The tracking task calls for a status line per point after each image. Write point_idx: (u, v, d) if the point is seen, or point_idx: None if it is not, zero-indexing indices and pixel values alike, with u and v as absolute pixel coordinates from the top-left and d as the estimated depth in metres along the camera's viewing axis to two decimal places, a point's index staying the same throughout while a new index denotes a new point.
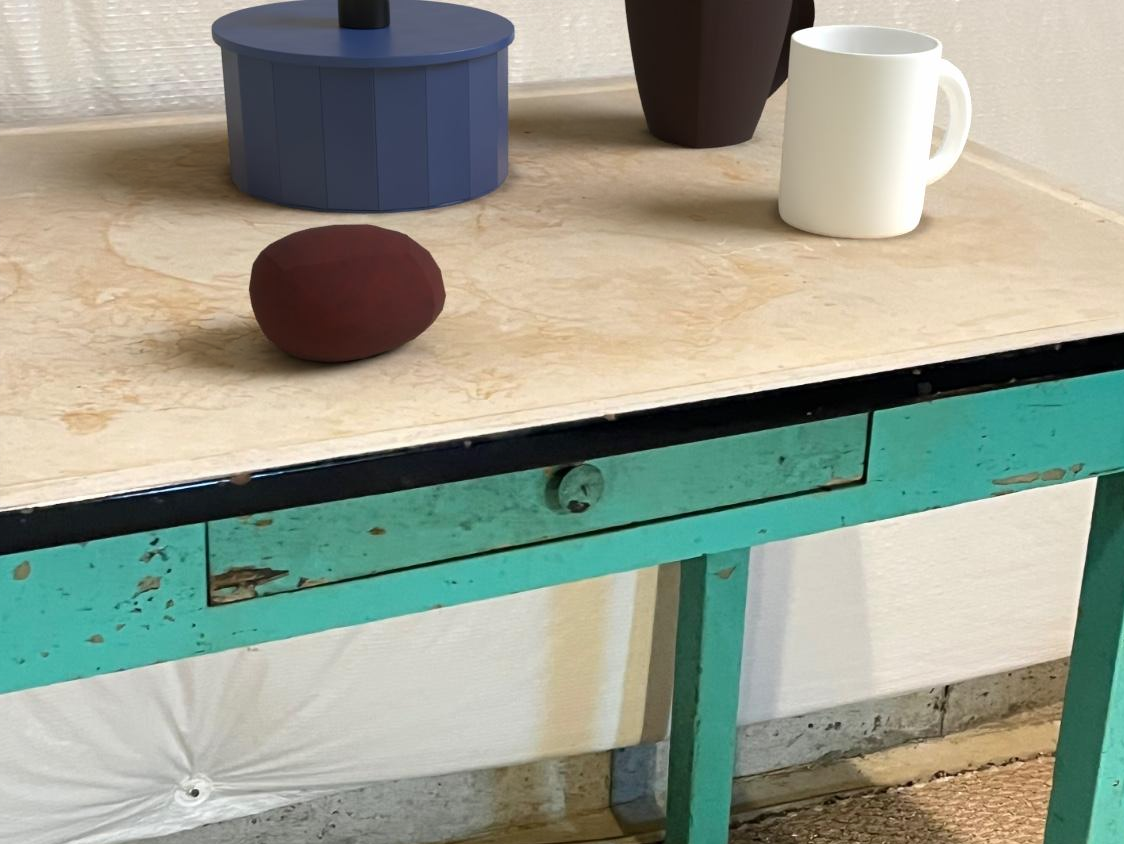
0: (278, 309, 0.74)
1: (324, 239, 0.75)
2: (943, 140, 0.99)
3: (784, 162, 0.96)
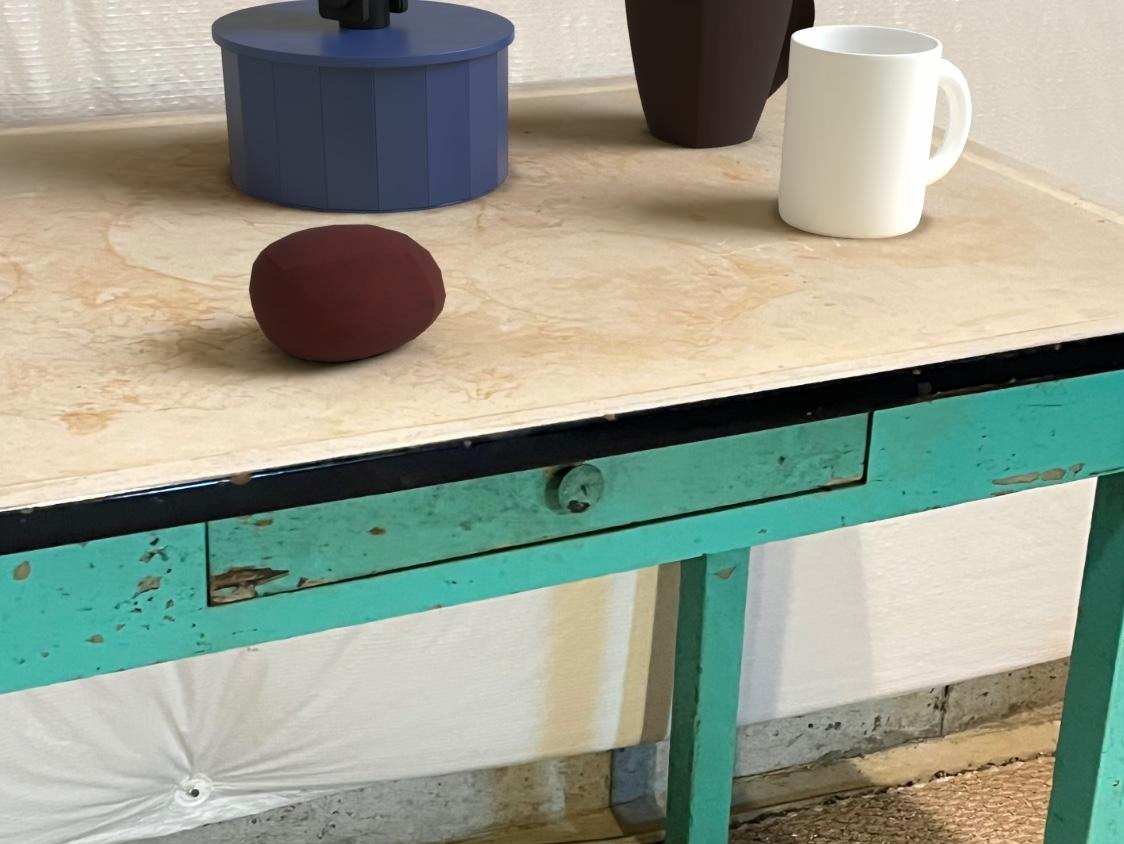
0: (278, 308, 0.74)
1: (324, 239, 0.75)
2: (943, 140, 0.99)
3: (784, 162, 0.96)
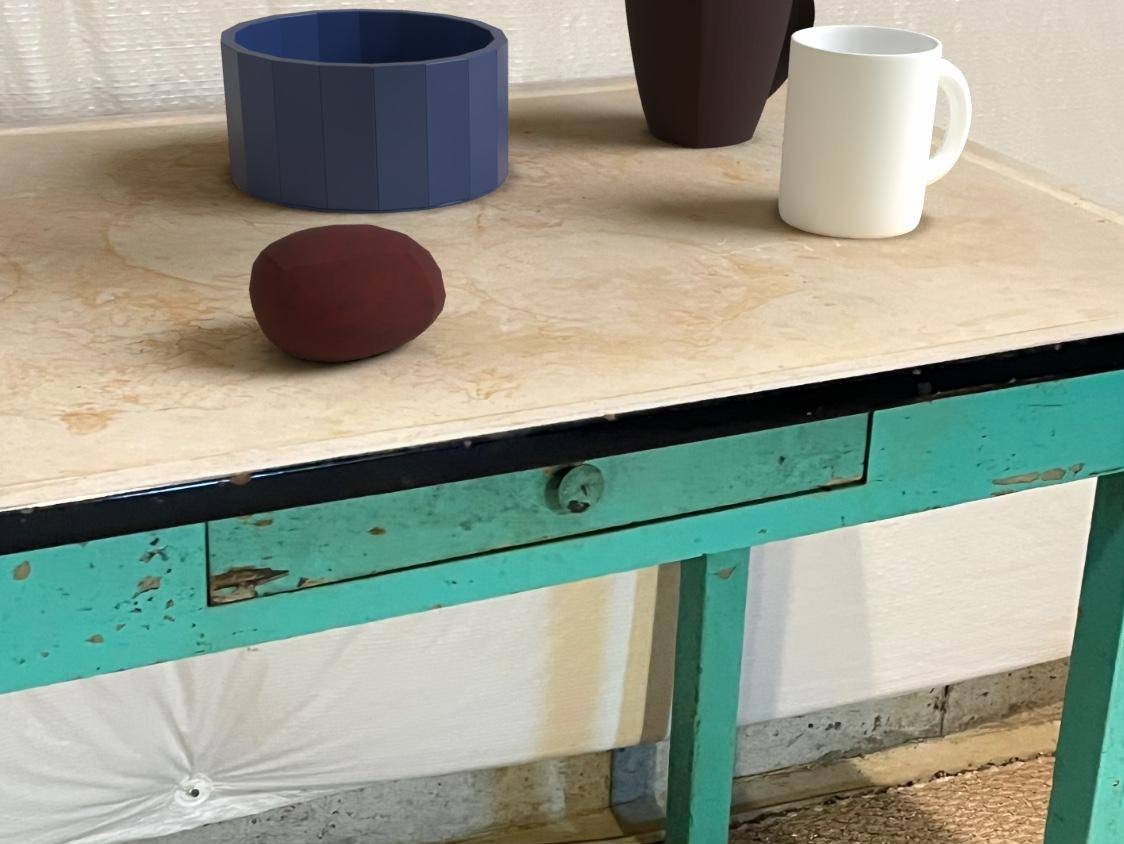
0: (278, 308, 0.74)
1: (324, 239, 0.75)
2: (943, 140, 0.99)
3: (784, 162, 0.96)
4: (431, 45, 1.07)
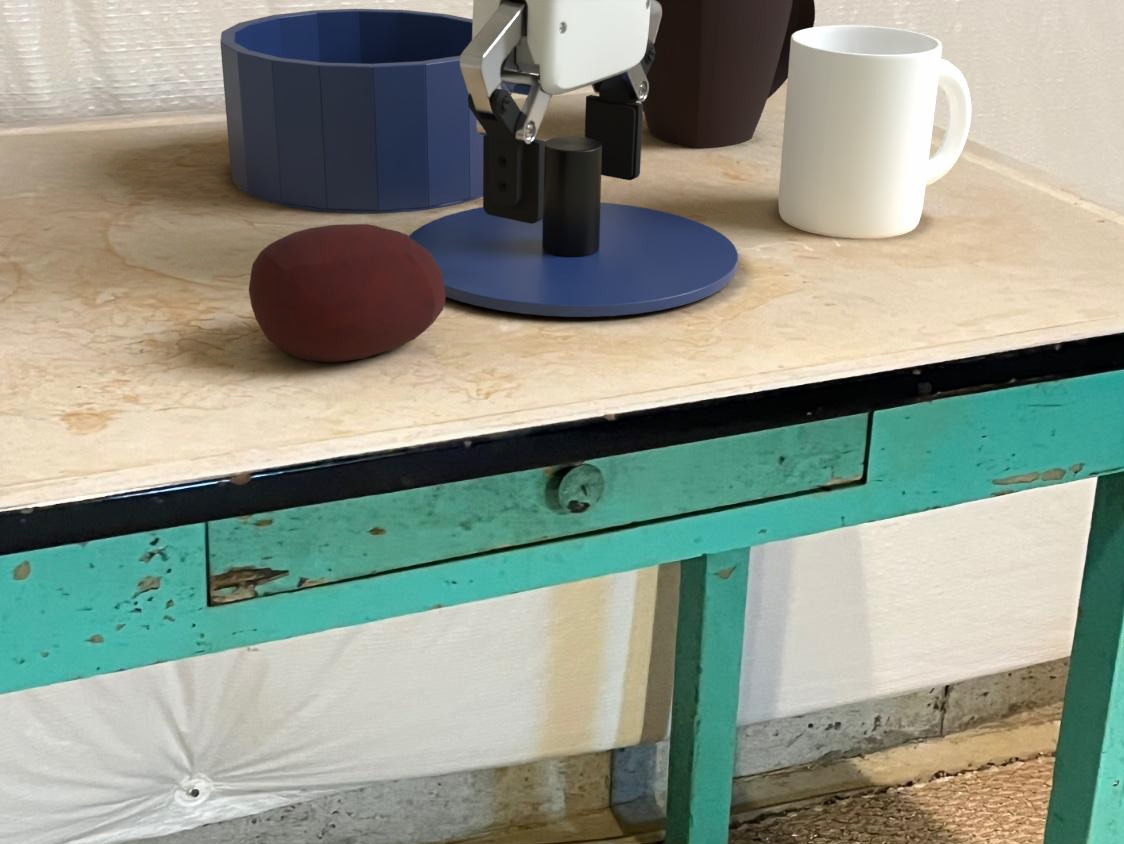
0: (278, 309, 0.74)
1: (324, 239, 0.75)
2: (943, 140, 0.99)
3: (784, 162, 0.96)
4: (431, 45, 1.07)
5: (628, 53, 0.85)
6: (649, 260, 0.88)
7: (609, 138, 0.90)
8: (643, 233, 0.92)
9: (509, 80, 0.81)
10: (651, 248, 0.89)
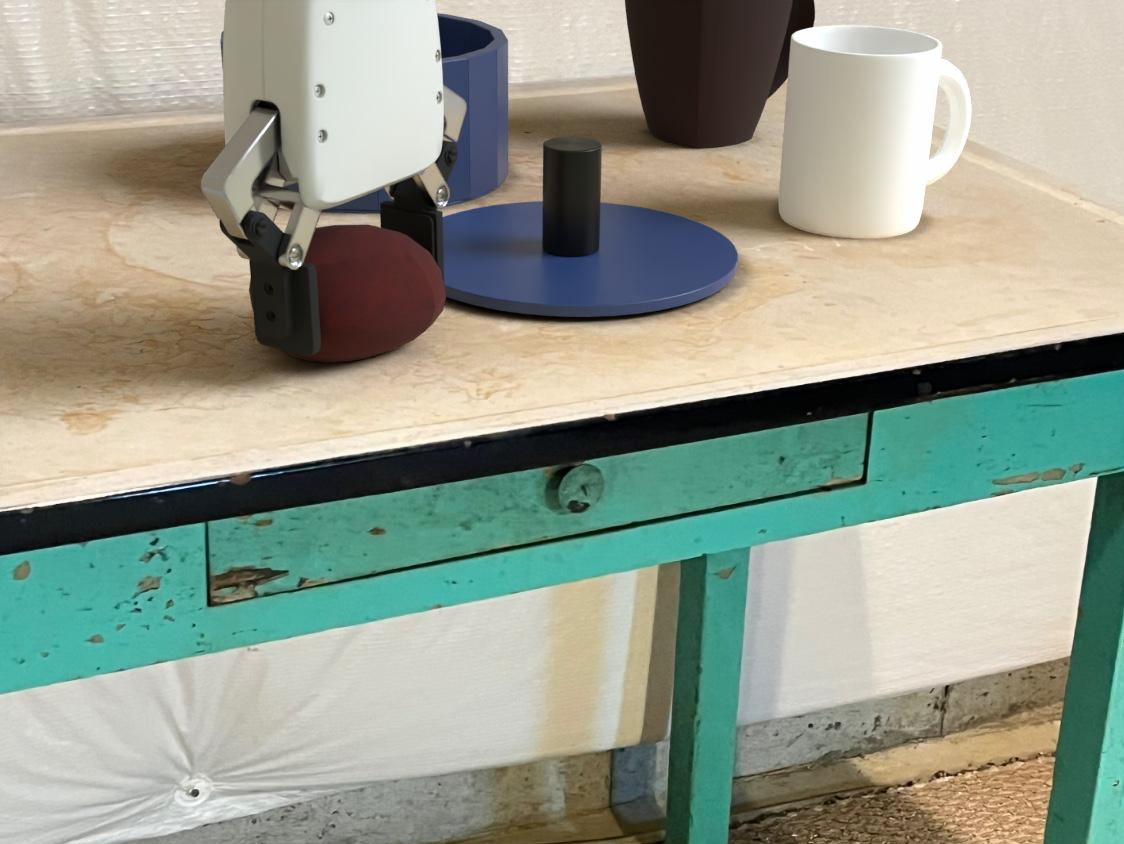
0: None
1: (324, 240, 0.75)
2: (943, 140, 0.99)
3: (784, 162, 0.96)
4: None
5: (417, 154, 0.75)
6: (649, 260, 0.88)
7: None
8: (643, 233, 0.92)
9: (271, 196, 0.71)
10: (651, 248, 0.89)
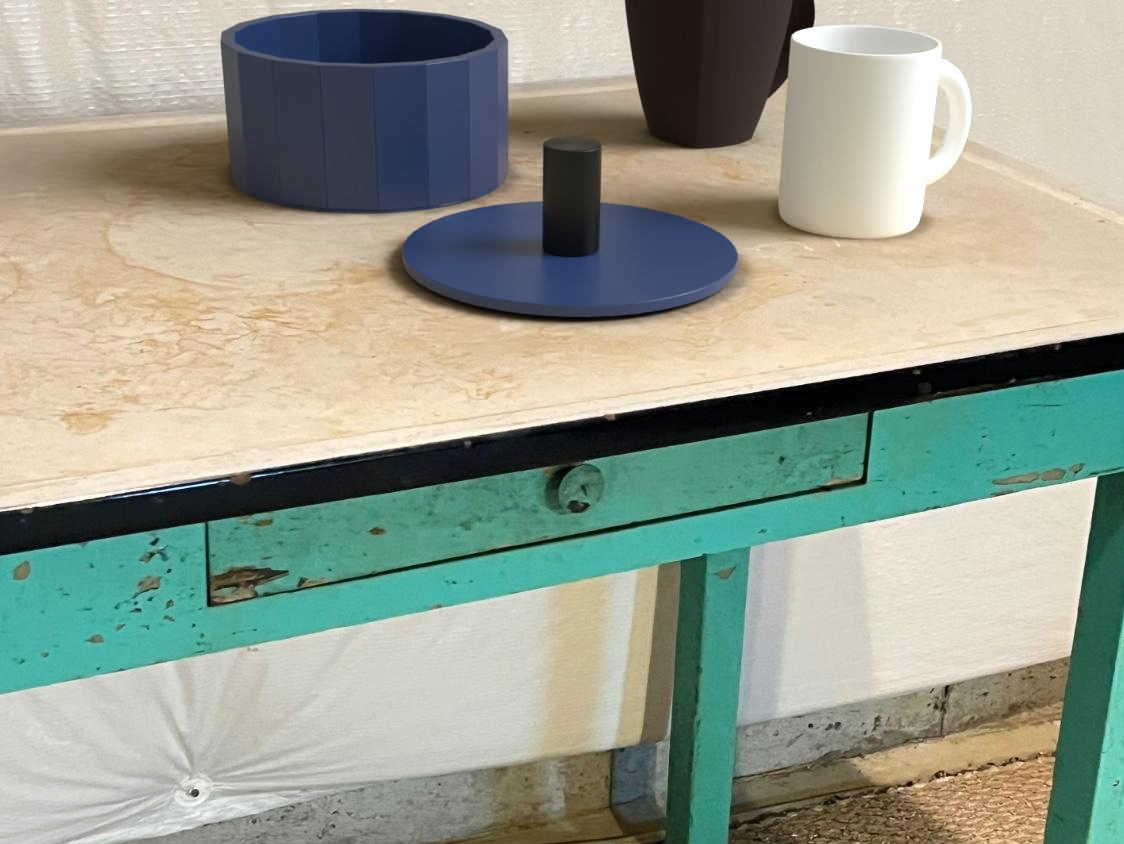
0: None
1: None
2: (943, 140, 0.99)
3: (784, 162, 0.96)
4: (431, 45, 1.07)
5: None
6: (649, 260, 0.88)
7: None
8: (643, 233, 0.92)
9: None
10: (651, 248, 0.89)
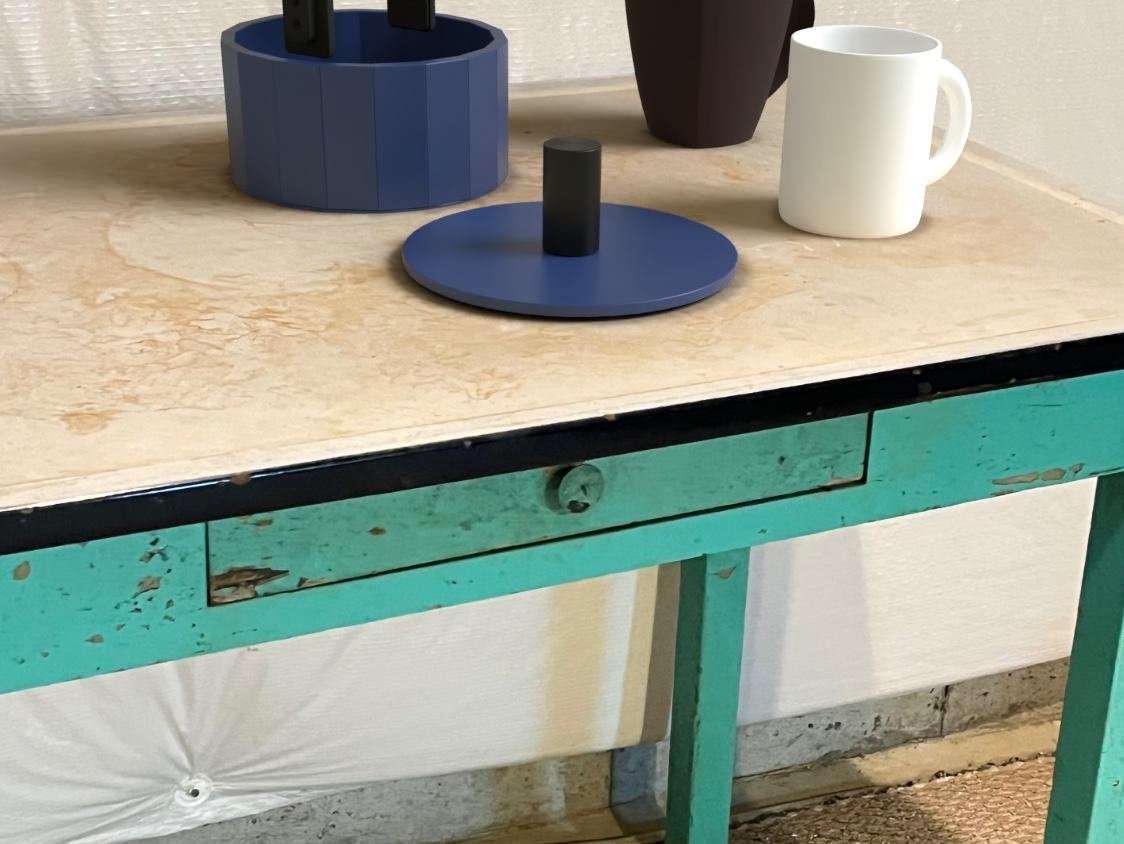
0: None
1: None
2: (943, 140, 0.99)
3: (784, 162, 0.96)
4: (431, 45, 1.07)
5: None
6: (649, 260, 0.88)
7: None
8: (643, 233, 0.92)
9: None
10: (651, 248, 0.89)
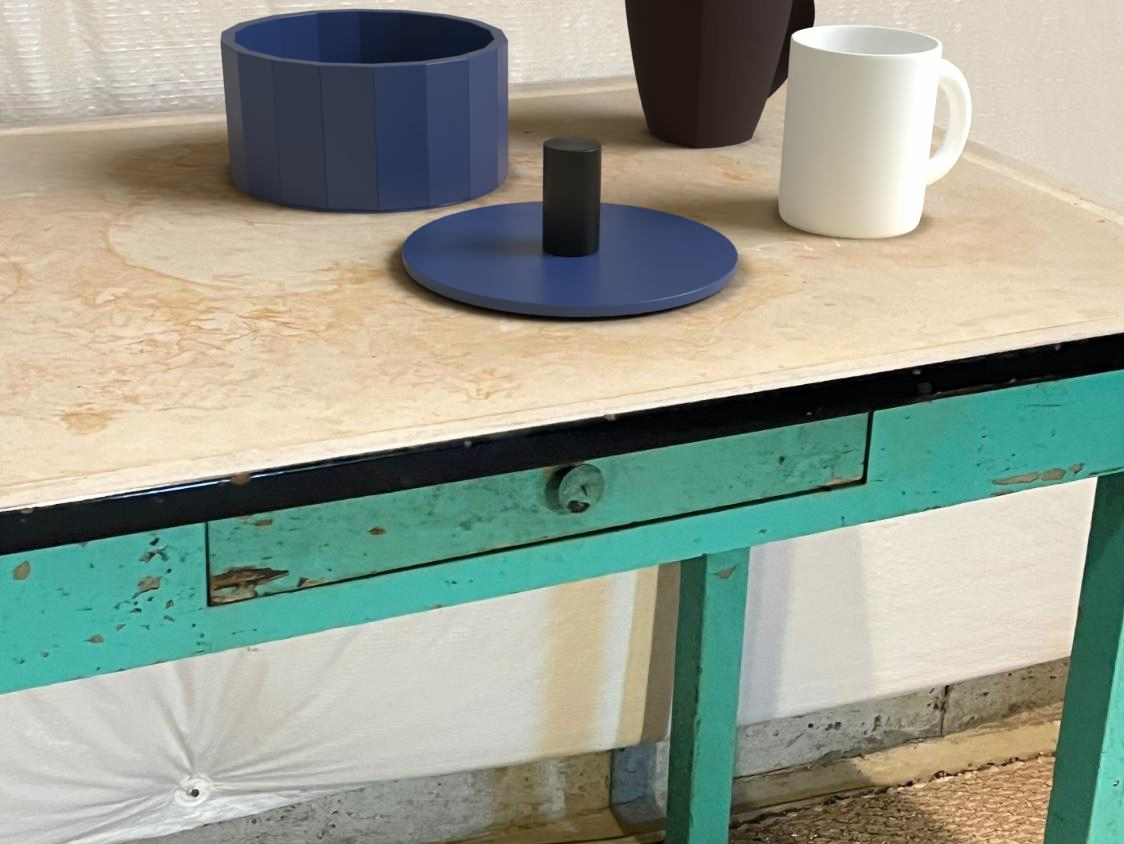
0: None
1: None
2: (943, 140, 0.99)
3: (784, 162, 0.96)
4: (431, 45, 1.07)
5: None
6: (649, 260, 0.88)
7: None
8: (643, 233, 0.92)
9: None
10: (651, 248, 0.89)
